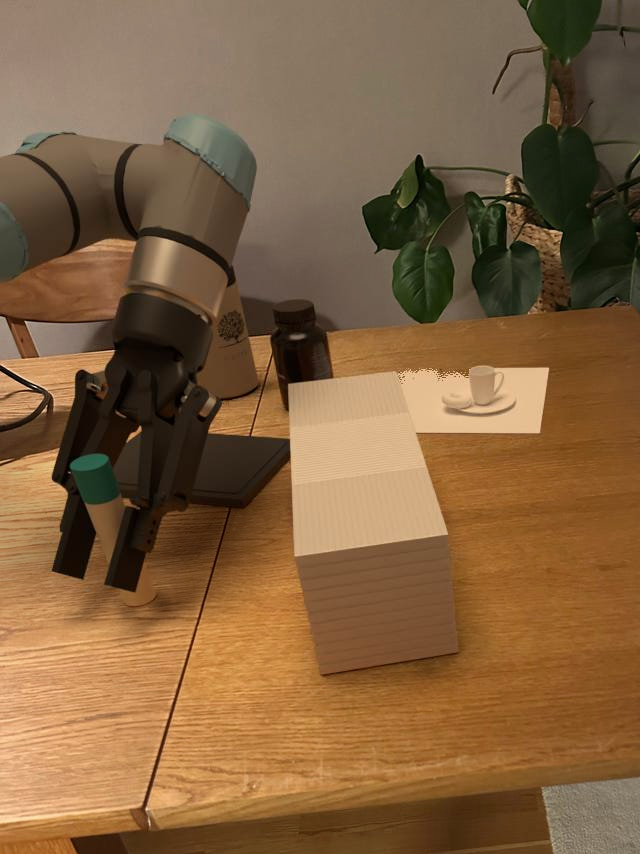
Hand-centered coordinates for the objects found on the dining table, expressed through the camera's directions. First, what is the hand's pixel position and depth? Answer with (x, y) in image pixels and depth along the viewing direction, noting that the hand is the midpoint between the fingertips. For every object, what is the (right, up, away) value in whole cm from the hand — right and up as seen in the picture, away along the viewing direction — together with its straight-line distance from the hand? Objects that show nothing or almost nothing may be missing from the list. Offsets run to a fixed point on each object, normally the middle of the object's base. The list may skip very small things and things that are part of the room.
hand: (93, 581), depth 68 cm
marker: (+2, -1, +5) cm, 6 cm away
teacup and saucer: (+30, +25, +36) cm, 53 cm away
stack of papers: (+22, +3, +9) cm, 23 cm away
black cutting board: (0, +14, +24) cm, 28 cm away
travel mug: (-2, +28, +42) cm, 51 cm away
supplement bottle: (+10, +25, +37) cm, 46 cm away
